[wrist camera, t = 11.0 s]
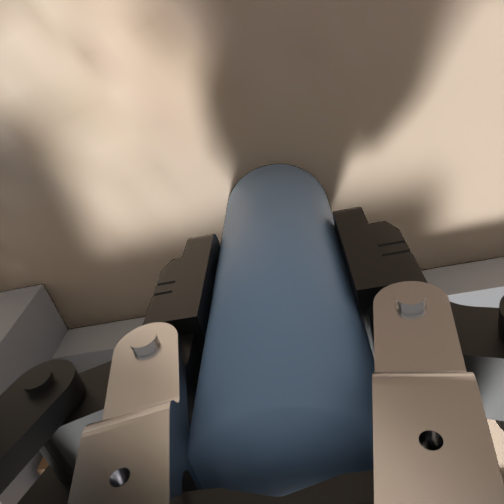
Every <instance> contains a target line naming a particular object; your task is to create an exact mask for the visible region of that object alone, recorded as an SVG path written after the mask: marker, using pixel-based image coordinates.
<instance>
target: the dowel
mask: <svg viewBox="0 0 504 504" xmlns="http://www.w3.org/2000/svg"><path fill="white" fill-rule="evenodd" d="M373 372H375V360H374V357H373V353H372V350H371V346H370V343H369V339H368V336H367V333H366V329H365V326H364V323H363V321H362V318H361V317H360V314H359V311H358V307H357V304H356V300H355V297H354V293H353V290H352V286H351V283H350V279H349V276H348V272H347V269H346V265H345V262H344V258H343V255H342V251H341V248H340V244H339V241H338V237H337V234H336V230H335V227H334V221H333V216H332V212H331V209H330V205H329V202H328V198H327V195H326V193H325V191H324V189H323V187H322V185H321V184H320V183H319V182H318V180H317V179H316V178H315V177H314V176H312V175H311V174H310V173H308V172H307V171H305V170H303V169H301V168H298V167H295V166H291V165H286V164H272V165H266V166H262V167H259V168H257V169H254V170H253V171H251V172H249V173H248V174H246V175H245V176H244V177H243V178H242V179H241V180H240V181H238V183H237V184H236V185H235V187H234V188H233V190H232V192H231V194H230V197H229V200H228V204H227V210H226V216H225V222H224V228H223V234H222V240H221V246H220V252H219V258H218V264H217V270H216V276H215V282H214V288H213V294H212V300H211V306H210V312H209V318H208V324H207V330H206V336H205V342H204V348H203V354H202V360H201V366H200V372H199V378H198V384H197V390H196V396H195V402H194V408H193V414H192V420H191V426H190V434H189V443H188V456H187V457H188V459H189V461H190V463H191V465H192V467H193V470H194V472H195V474H196V476H197V478H198V480H199V482H200V485H201V487H202V489H211V488H222V489H229V490H235V491H242V492H248V493H255V494H261V495H267V496H274V497H280V496H285V495H288V494H291V493H293V492H296V491H299V490H301V489H304V488H307V487H309V486H312V485H315V484H317V483H320V482H323V481H325V480H328V479H331V478H333V477H336V476H339V475H341V474H345V473H354V472H362V471H371V470H374V463H373V400H372V374H373Z"/></svg>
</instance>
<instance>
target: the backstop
mask: <svg viewBox="0 0 504 504" xmlns="http://www.w3.org/2000/svg"><path fill="white" fill-rule="evenodd" d="M422 273H423V275H424V277H425V279H426V280H427V282H428V284H432V285H434V286H436V287H438V288H440V289H441V290H442V291H443V292H445V293H446V295H447V296H448V298H449V301H450V302H453V303H456V304H460V305H465V306H474V307H493V308H499V303H500V300H501V298H502V297H503V296H504V257H500V258H494V259H488V260H482V261H476V262H470V263H464V264H458V265H452V266H446V267H440V268H434V269H428V270H422ZM144 319H145V317H141V318H135V319H129V320H123V321H117V322H111V323H105V324H99V325H93V326H87V327H81V328H75V329H69V330H68V329H67V327H66V325H65V323H64V321H63V320H62V318H61V316H60V314H59V312H58V310H57V309H56V307H55V305H54V303H53V301H52V300H51V298H50V296H49V294H48V292H47V290H46V289H45V287H44V285H43V284H42V285H36V286H31V287H25V288H20V289H14V290H9V291H3V292H0V395H1V394H2V393H3V392H4V391H5V390H6V389H7V388H8V387H9V386H10V385H11V384H13V383H14V382H15V381H16V380H17V379H18V378H19V377H20V376H21V375H22V374H24V373H25V372H26V371H28V370H29V369H31V368H33V367H35V366H37V365H39V364H41V363H43V362H46V361H49V360H54V359H65V360H68V361H70V362H72V364H73V365H74V367H75V368H76V370H77V372H78V374H79V373H81V372H84V371H86V370H89V369H91V368H94V367H96V366H99V365H102V364H104V363H106V362H109V361H111V360H112V357H113V352H114V349H115V347H116V345H117V344H118V342H119V341H120V340H121V339H122V338H123V337H124V336H125V335H126V334H128V333H129V332H131V331H132V330H134V329H136V328H138V327H140V326H142V325H143V322H144ZM42 458H43V456H42V454H41V453H40V451H38V452H37V454H36V455H35V456H34V457H33V458H32V459H31V460H30V462H29V463H28V464H27V465H26V466H25V467H24V468H23V470H22V471H21V472H20V473H19V474H18V475H17V476H16V478H15V479H14V480H13V481H12V482H11V483H10V484H9V486H8V487H7V488H6V489H5V490H4V491H3V493H2V494H1V495H0V504H17V503H18V502H19V501H20V499H21V498H22V497H23V496H24V494H25V493H26V492H27V491H28V490H29V488H30V487H31V486H32V485H33V484H34V482H35V481H36V480H37V479H38V478H39V476H40V474H39V473H38V471H37V468H38V466H39V464H40V462H41V460H42Z"/></svg>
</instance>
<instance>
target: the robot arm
mask: <svg viewBox="0 0 504 504" xmlns="http://www.w3.org/2000/svg"><path fill="white" fill-rule="evenodd" d="M333 221H334V227H335V230H336V234H337V237H338V241H339V244H340V248H341V251H342V255H343V258H344V262H345V265H346V269H347V272H348V276H349V279H350V283H351V286H352V290H353V293H354V297H355V300H356V304H357V307H358V311H359V314H360V317H361V318H362V321H363V323H364V326H365V329H366V333H367V336H368V339H369V343H370V346H371V350H372V353H373V357H374V360H375V372H373V374H372V400H373V463H374V470H371V471H362V472H354V473H345V474H341V475H339V476H336V477H333V478H331V479H328V480H325V481H323V482H320V483H317V484H315V485H312V486H309V487H307V488H304V489H301V490H299V491H296V492H293V493H291V494H288V495H285V496H280V497H274V496H267V495H261V494H255V493H248V492H242V491H235V490H229V489H222V488H211V489H202V487H201V485H200V482H199V480H198V478H197V476H196V474H195V472H194V470H193V467H192V465H191V463H190V461H189V459H188V457H187V456H188V443H189V434H190V426H191V420H192V414H193V408H194V402H195V396H196V390H197V384H198V378H199V372H200V366H201V360H202V354H203V348H204V342H205V336H206V330H207V324H208V318H209V312H210V306H211V300H212V294H213V288H214V282H215V276H216V270H217V264H218V258H219V252H220V243H219V240H218V238H217V236H216V234H211V235H206V236H200V237H195V238H190V239H188V240H187V243H186V247H185V250H184V253H183V257H182V258H179V259H174V260H172V261H171V262H170V263H169V264H168V265H167V266H166V267H165V268H164V269H163V270H162V271H161V274H160V277H159V280H158V283H157V286H156V288H155V291H154V296H153V297H152V299H151V302H150V305H149V308H148V311H147V314H146V316H145V319H144V322H143V325H142V326H140V327H138V328H136V329H134V330H132V331H131V332H129V333H128V334H126V335H125V336H124V337H123V338H122V339H121V340H120V341H119V342H118V344H117V345H116V347H115V349H114V352H113V357H112V360H111V361H109V362H106V363H104V364H102V365H99V366H96V367H94V368H91V369H89V370H86V371H84V372H81V373H79V374H78V372H77V370H76V368H75V367H74V365H73V364H72V362H70V361H68V360H65V359H54V360H49V361H46V362H43V363H41V364H39V365H37V366H35V367H33V368H31V369H29V370H28V371H26V372H25V373H24V374H22V375H21V376H20V377H19V378H18V379H17V380H16V381H15V382H14V383H13V384H11V385H10V386H9V387H8V388H7V389H6V390H5V391H4V392H3V393H2V394H1V395H0V495H1V494H2V493H3V491H4V490H5V489H6V488H7V487H8V486H9V484H10V483H11V482H12V481H13V480H14V479H15V478H16V476H17V475H18V474H19V473H20V472H21V471H22V470H23V468H24V467H25V466H26V465H27V464H28V463H29V462H30V460H31V459H32V458H33V457H34V456H35V455H36V454H37V452H38V451H40V453H41V454H42V456H43V457H44V458H45V460H46V461H47V463H48V464H49V466H48V467H47V468H46V469H45V470H44V472H43V473H42V474H41V475H40V476H39V478H38V479H37V480H36V481H35V482H34V484H33V485H32V486H31V487H30V488H29V490H28V491H27V492H26V493H25V494H24V496H23V497H22V498H21V499H20V501H19V502H18V503H17V504H504V483H503V479H502V475H501V471H500V468H499V464H498V460H497V456H496V452H495V448H494V445H493V441H492V437H491V433H490V429H489V426H488V422H487V419H492V420H496V422H497V424H498V425H499V426H500V428H501V429H502V430H503V431H504V296H503V297H502V298H501V300H500V303H499V308H493V307H474V306H465V305H460V304H456V303H453V302H450V301H449V298H448V296H447V295H446V293H445V292H443V291H442V290H441V289H440V288H438V287H436V286H434V285H432V284H428V282H427V280H426V279H425V277H424V275H423V273H422V271H421V269H420V267H419V266H418V264H417V262H416V260H415V258H414V256H413V255H412V253H411V252H410V249H409V247H408V245H407V244H406V243H405V240H404V238H403V236H402V234H401V232H400V231H399V229H398V228H396V227H394V226H392V225H391V224H389V223H387V222H386V221H383V222H378V223H372V224H368V221H367V219H366V217H365V215H364V212H363V210H362V208H361V207H356V208H350V209H345V210H340V211H334V212H333Z"/></svg>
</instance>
